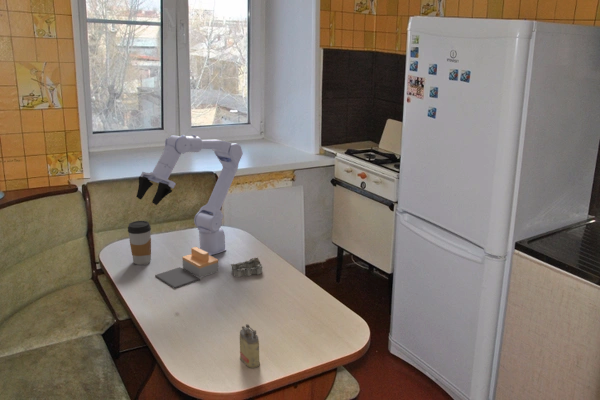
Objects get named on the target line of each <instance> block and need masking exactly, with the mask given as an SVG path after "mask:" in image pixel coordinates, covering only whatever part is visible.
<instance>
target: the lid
mask: <svg viewBox="0 0 600 400" xmlns="http://www.w3.org/2000/svg"><path fill="white" fill-rule="evenodd" d="M190 249H191V251H190V252H191V254H187V255H184V256H182V261H183V260H185V261H186V262H188V263H190V264H192V265H194V266H196V267H198V268H199V269H200V268H203V267H206V266H209V265H212V264H215V263H218V264H219V259H218V258H217V257H214V256H212V255H211V256H210V255H209V254H208V252H206V251H204V250H202V249H200V247H197V246H194V247H191V248H190Z"/></svg>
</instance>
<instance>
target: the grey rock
mask: <svg viewBox="0 0 600 400" xmlns="http://www.w3.org/2000/svg"><path fill="white" fill-rule="evenodd" d="M230 267H231V273H233V276H234V277H236V278H237V277H238V278H241V277H242V276H248V277H250V276H251V275H260V274H261V273H263V265H262V264H261V262H260V259H259V257H254V258H250V259H249V260H245V261H243V262H241V261H240V262H236V263H231V264H230Z"/></svg>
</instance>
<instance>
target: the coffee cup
mask: <svg viewBox="0 0 600 400" xmlns="http://www.w3.org/2000/svg"><path fill="white" fill-rule="evenodd" d="M151 231H152V228H151V224H150V222H149V221H148V220H147V221H146V220H135V221H131V222H130V223H129V224H128V227H127V232H128V237H129V244H130V245H129V246H130V251H131V256H132V262H133V263H134V264H135V265H137V266H143V265H148V264H149V263H150V262H151V260H152V236H151V235H152V233H151Z"/></svg>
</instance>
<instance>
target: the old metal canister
mask: <svg viewBox="0 0 600 400" xmlns="http://www.w3.org/2000/svg"><path fill="white" fill-rule="evenodd" d="M239 354H240V355H239V360H241V361H242V362H243V363H244V364H245V365H246V366H247V368H251V369H252V368H253V369H254V368H258V367H259V366H260V365H261V364H260V341H259V336H258V335H257V330H255V329H253V328H252V327H250V325H249V324H248V323H247V324H245V326H244V325H242V326H241V329H240V331H239Z"/></svg>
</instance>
